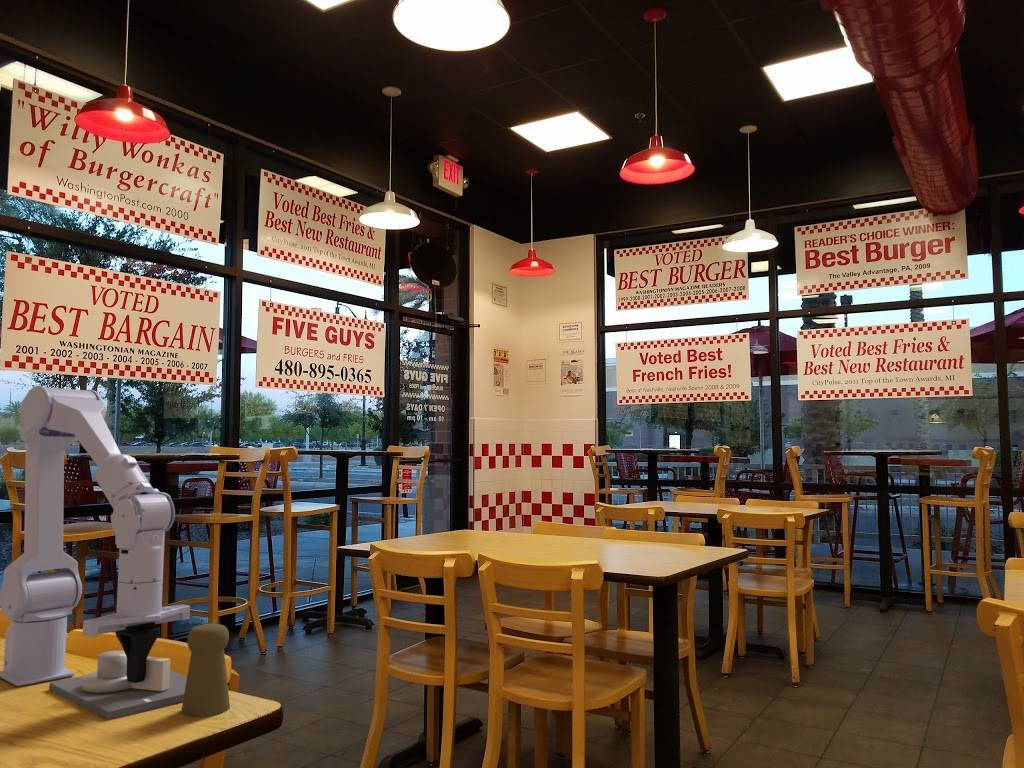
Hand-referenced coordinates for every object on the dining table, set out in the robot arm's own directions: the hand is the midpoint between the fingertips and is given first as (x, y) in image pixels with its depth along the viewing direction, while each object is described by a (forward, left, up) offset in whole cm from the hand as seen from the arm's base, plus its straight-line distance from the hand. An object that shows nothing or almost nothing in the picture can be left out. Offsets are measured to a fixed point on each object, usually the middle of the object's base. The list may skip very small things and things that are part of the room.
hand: (136, 680), depth 110 cm
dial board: (-4, +1, -2) cm, 5 cm away
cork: (+11, +4, -3) cm, 12 cm away
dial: (-3, 0, -1) cm, 4 cm away
